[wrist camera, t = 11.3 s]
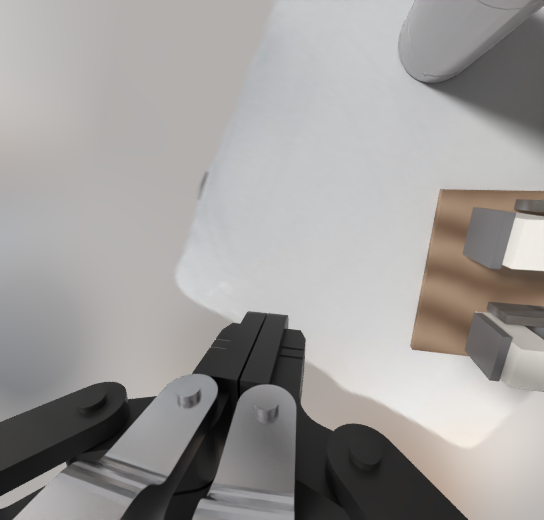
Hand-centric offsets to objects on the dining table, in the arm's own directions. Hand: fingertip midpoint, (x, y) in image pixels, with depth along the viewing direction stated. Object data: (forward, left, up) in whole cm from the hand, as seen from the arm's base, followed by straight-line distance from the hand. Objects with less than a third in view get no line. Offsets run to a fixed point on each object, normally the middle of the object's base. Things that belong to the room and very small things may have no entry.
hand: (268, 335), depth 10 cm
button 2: (0, +22, -30) cm, 37 cm away
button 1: (+14, +25, -30) cm, 42 cm away
